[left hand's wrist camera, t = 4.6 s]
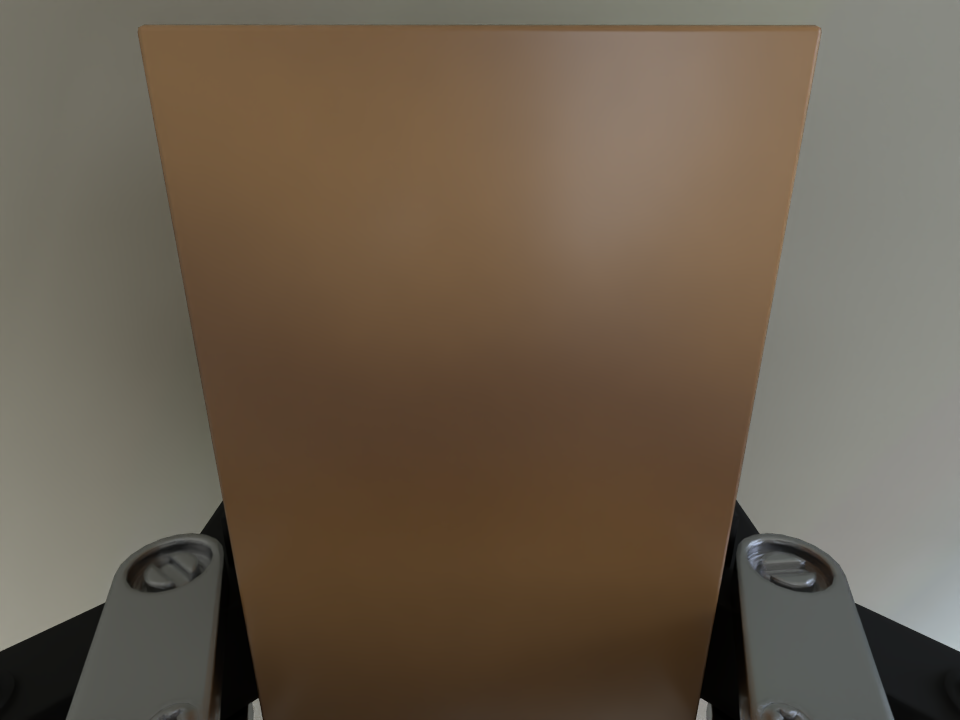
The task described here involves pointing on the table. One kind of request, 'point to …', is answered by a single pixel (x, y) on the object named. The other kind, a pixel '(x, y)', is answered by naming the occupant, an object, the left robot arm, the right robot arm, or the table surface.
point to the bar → (479, 346)
